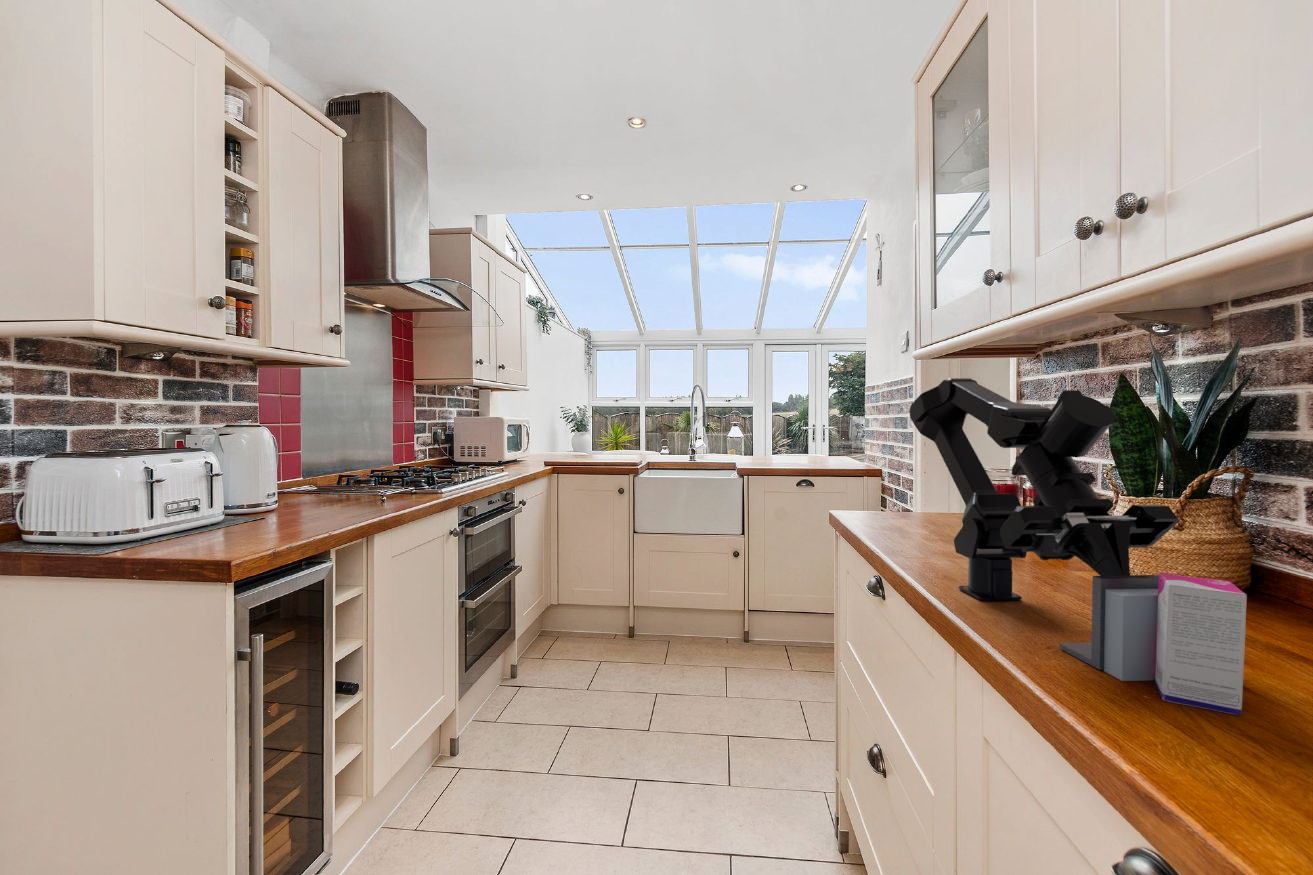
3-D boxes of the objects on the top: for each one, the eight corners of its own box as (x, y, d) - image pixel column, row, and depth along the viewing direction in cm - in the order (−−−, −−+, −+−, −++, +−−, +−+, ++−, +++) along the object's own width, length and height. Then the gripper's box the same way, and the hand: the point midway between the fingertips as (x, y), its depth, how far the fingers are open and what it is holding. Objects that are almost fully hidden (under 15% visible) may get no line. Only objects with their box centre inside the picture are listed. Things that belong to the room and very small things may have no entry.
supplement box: (1245, 717, 55) (1248, 593, 54) (1161, 701, 58) (1163, 584, 58) (1228, 692, 60) (1231, 579, 59) (1152, 679, 63) (1154, 571, 62)
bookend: (1059, 648, 71) (1060, 564, 71) (1133, 646, 71) (1134, 563, 71) (1099, 669, 65) (1101, 578, 64) (1180, 668, 65) (1181, 577, 65)
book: (1104, 671, 65) (1105, 589, 65) (1175, 669, 65) (1177, 588, 65) (1121, 680, 62) (1123, 595, 62) (1196, 679, 63) (1198, 594, 62)
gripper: (1093, 516, 84) (1160, 620, 73) (962, 517, 83) (1010, 623, 72) (1141, 465, 76) (1225, 574, 65) (997, 466, 75) (1057, 576, 64)
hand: (1124, 589), depth 67 cm, fingers closed
